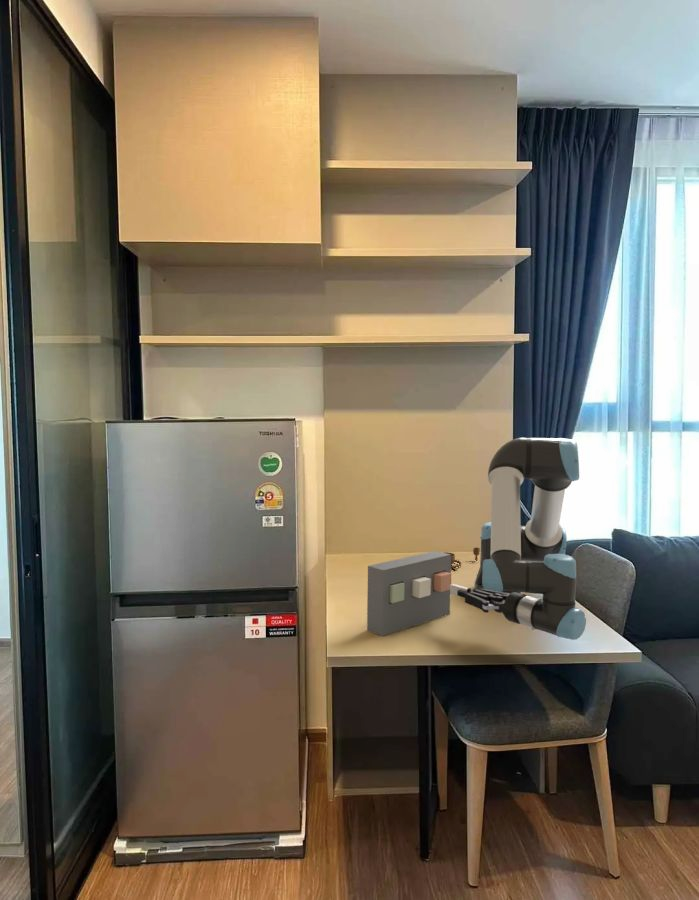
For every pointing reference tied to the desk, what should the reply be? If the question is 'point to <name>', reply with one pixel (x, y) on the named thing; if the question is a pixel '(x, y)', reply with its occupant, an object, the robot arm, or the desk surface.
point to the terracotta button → (441, 581)
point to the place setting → (475, 551)
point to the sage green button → (396, 592)
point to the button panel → (405, 593)
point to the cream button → (421, 587)
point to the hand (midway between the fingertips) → (451, 588)
